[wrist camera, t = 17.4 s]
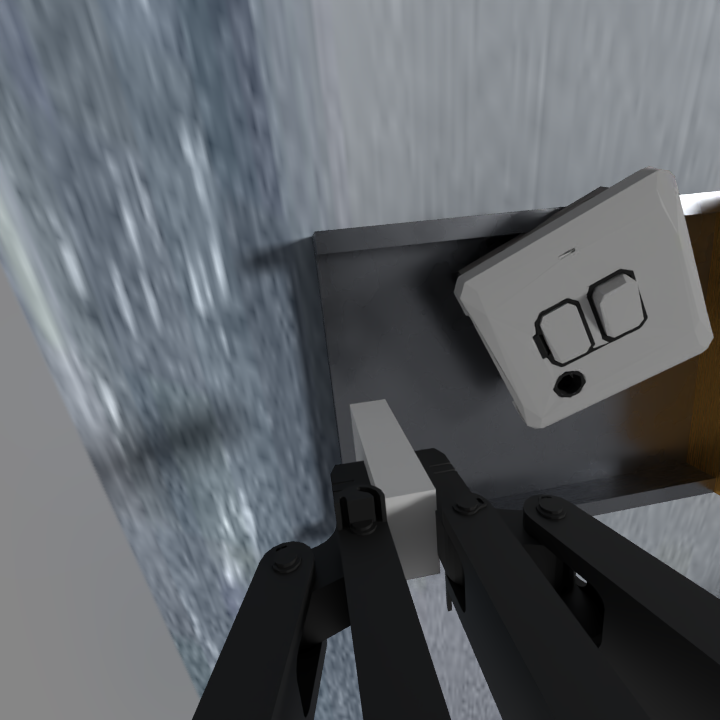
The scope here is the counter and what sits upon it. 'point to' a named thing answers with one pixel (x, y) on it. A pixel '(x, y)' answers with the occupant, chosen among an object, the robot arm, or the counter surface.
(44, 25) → the counter surface
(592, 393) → the electrical switch
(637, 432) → the drawer
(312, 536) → the counter surface
